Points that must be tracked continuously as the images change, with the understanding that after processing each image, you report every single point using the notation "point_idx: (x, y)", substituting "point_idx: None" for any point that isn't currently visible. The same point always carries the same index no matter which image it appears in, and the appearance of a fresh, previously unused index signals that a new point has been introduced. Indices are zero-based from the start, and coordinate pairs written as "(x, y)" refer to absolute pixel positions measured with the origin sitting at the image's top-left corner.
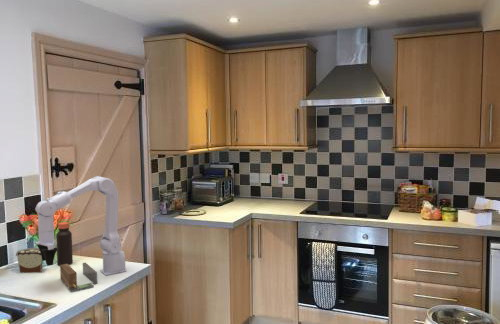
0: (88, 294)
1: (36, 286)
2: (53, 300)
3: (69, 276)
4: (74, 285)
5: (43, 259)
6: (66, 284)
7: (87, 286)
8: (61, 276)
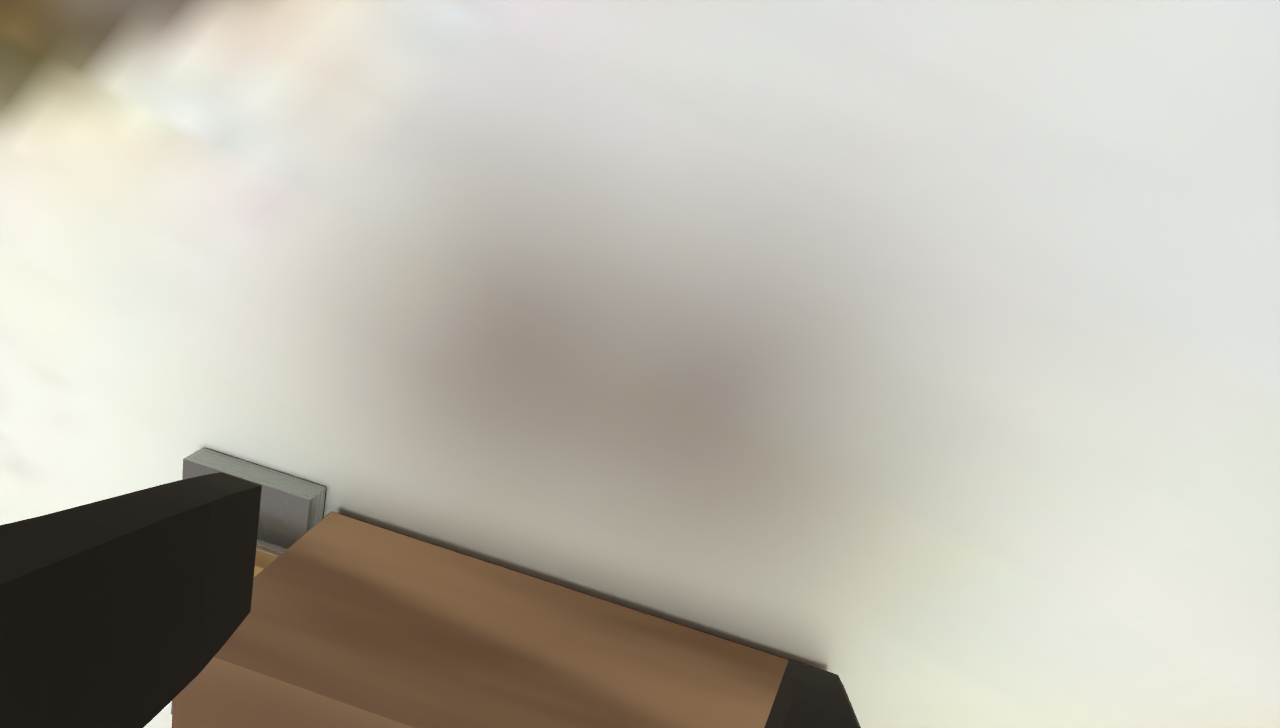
0: None
1: (847, 269)
2: (88, 151)
3: None
4: None
5: (786, 703)
6: (474, 565)
7: None
8: (754, 686)
